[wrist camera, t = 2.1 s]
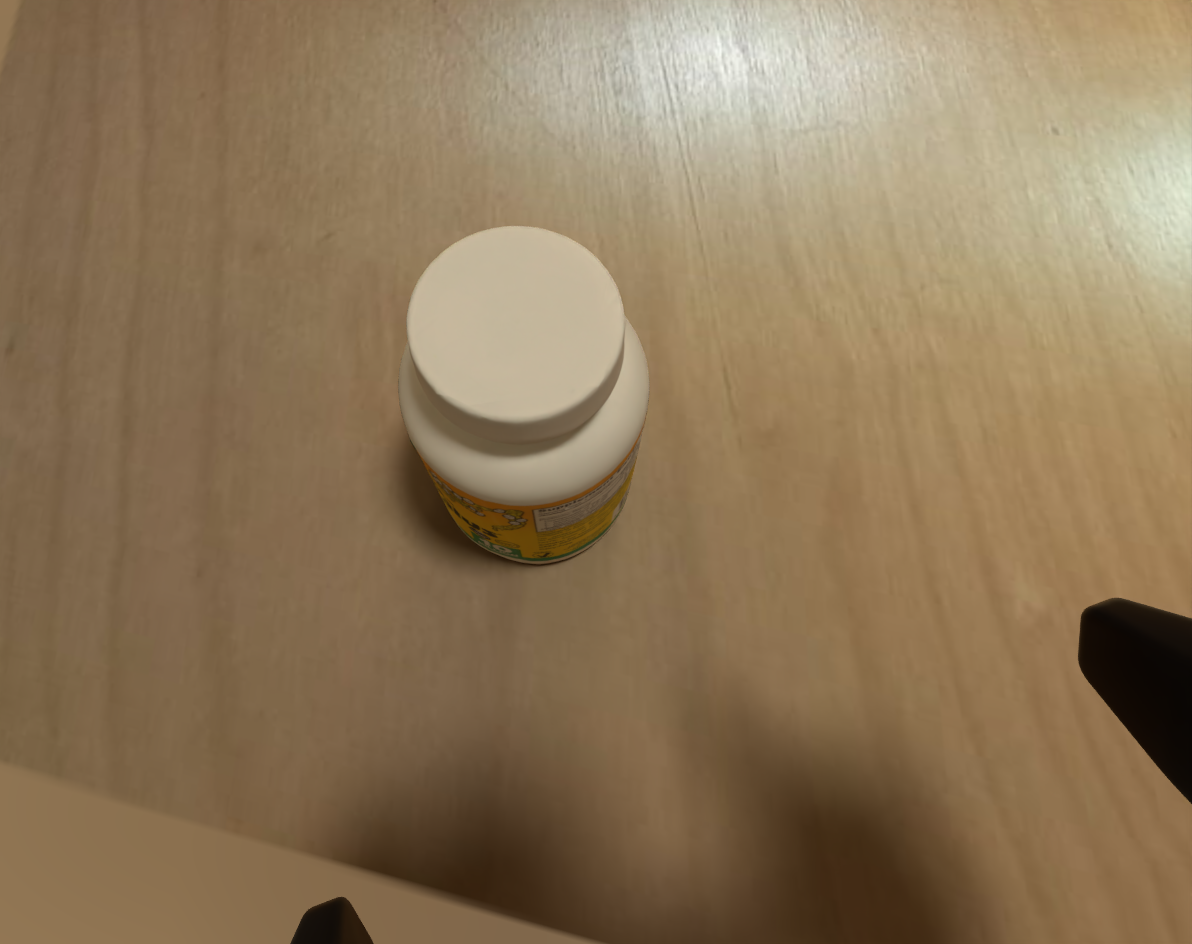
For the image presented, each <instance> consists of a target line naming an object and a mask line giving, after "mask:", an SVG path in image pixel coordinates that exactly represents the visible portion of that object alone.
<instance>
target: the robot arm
mask: <svg viewBox="0 0 1192 944" xmlns="http://www.w3.org/2000/svg"><path fill="white" fill-rule="evenodd" d="M1078 661H1079V665H1080V668H1081V671H1082V673H1083V674H1084V676H1085V678H1086V679H1087V680H1088V682H1089V683H1090V684H1091V685H1092V687H1093V688H1094V689H1095V690H1096V692H1097V693H1098V694H1099V695H1100V696H1101V698H1102V699H1103V700H1104V701H1105V703H1106V704H1107V705H1108V706H1109V707H1110V709H1111V710H1112V711H1113V712H1114V714H1115V715H1116V716H1117V717H1118V719H1119V720H1120V721H1121V722H1122V723H1123V725H1124V726H1125V727H1126V728H1127V730H1128V731H1129V732H1130V733H1131V734H1132V736H1133V737H1134V738H1135V739H1136V741H1137V742H1138V743H1139V744H1140V745H1141V747H1142V748H1143V749H1144V750H1145V752H1146V753H1147V754H1148V755H1149V756H1150V758H1151V759H1152V760H1153V761H1154V763H1155V764H1156V765H1157V766H1158V767H1159V769H1160V770H1161V771H1162V772H1163V773H1164V774H1165V776H1166V777H1167V778H1168V779H1169V780H1170V781H1171V782H1172V784H1173V785H1174V786H1175V787H1176V788H1177V789H1178V790H1179V791H1180V792H1181V793H1182V794H1183V795H1184V796H1185V797H1186V798H1187V800H1188V801H1189V802H1190V803H1191V804H1192V618H1188V617H1185V616H1181V615H1178V614H1174V613H1171V612H1168V611H1164V610H1161V609H1157V608H1154V607H1150V606H1147V605H1143V604H1140V603H1137V602H1133V601H1130V600H1126V599H1122V598H1111V599H1108V600H1105V601H1102V602H1100V603H1097V604H1095V605H1092V606H1090V607H1088V608H1086V609H1085V610H1084V611H1083V613H1082V615H1081V622H1080V636H1079V650H1078ZM291 944H373V942H372V940H371V937H370V936H369V934H368V932H367V931H366V929H365V927H364V925H363V924H362V922H361V920H360V919H359V917H358V915H357V913H356V912H355V910H354V908H353V907H352V905H351V904H350V902H349V901H348V900H347V899H346V898H344V897H338V898H335V899H332V900H330V901H327V902H325V903H322V904H319V905H317V906H314V907H312V908H310V909H309V910H308V911H307V912H306V913H305V914H304V915H303V917H302V919H301V921H300V924H299V926H298V928H297V930H296V932H295V935H294V937H293V939H292V941H291Z"/></svg>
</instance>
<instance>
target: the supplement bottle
mask: <svg viewBox="0 0 1192 944" xmlns="http://www.w3.org/2000/svg"><path fill="white" fill-rule="evenodd" d="M406 327H407V339H408V342H407V344H406V347H405V350H404V353H403V356H402V359H401V364H400V370H399V380H398V393H399V403H400V409H401V413H402V417H403V420H404V423H405V426H406V429H407V432H408V435H409V438H410V441H411V443H412V444H413V446H414V448H415V449H416V451H417V453H418V454H419V456H420V458H421V460H422V462H423V463H424V465H425V467H426V469H427V471H428V473H429V475H430V477H431V479H432V481H433V483H434V485H435V486H436V488H437V490H438V492H439V495H440V496H441V498H442V499H443V501H444V503H445V505H446V507H447V509H448V511H449V513H450V515H451V516H452V518H453V519H454V521H455V522H456V524H457V525H458V526H459V528H460V529H461V530H462V531H463V532H464V533H465V534H466V535H467V536H468V537H469V538H470V539H471V540H472V541H473V542H475V543H476V544H478V545H479V546H481V547H482V548H484V549H486V550H488V551H490V552H492V553H494V554H497V555H499V556H502V557H505V558H507V559H510V560H514V561H518V562H523V563H532V564H544V563H551V562H556V561H560V560H564V559H567V558H570V557H572V556H575V555H577V554H579V553H580V552H582V551H584V550H586V549H587V548H589V547H590V546H592V545H593V544H594V543H596V542H597V541H598V540H599V539H600V538H601V537H602V536H603V535H604V534H605V533H606V532H607V531H608V530H609V529H610V528H611V526H612V525H613V524H614V522H615V521H616V519H617V518H618V516H619V515H620V513H621V511H622V509H623V506H624V504H625V501H626V498H627V495H628V492H629V488H630V484H631V480H632V476H633V472H634V468H635V463H636V459H637V454H638V449H639V445H640V440H641V436H642V432H643V428H644V424H645V419H646V414H647V408H648V401H649V373H648V366H647V361H646V357H645V353H644V351H643V348H642V345H641V343H640V340H639V338H638V336H637V334H636V332H635V330H634V328H633V327H632V325H631V324H630V322H629V321H628V319H627V318H626V317H625V315H624V308H623V304H622V300H621V296H620V293H619V290H618V288H617V286H616V284H615V281H614V280H613V278H612V277H611V275H610V273H609V272H608V271H607V269H606V268H605V267H604V265H603V264H602V263H601V262H600V261H599V260H598V258H597V257H596V256H595V255H594V254H592V253H591V252H590V251H589V250H588V249H586V248H585V247H583V246H582V245H581V244H579V243H577V242H575V241H574V240H572V239H570V238H568V237H566V236H564V235H561V234H559V233H556V232H553V231H549V230H545V229H542V228H536V227H528V226H505V227H499V228H492V229H488V230H483V231H480V232H477V233H475V234H472V235H470V236H467V237H465V238H463V239H462V240H460V241H458V242H456V243H454V244H453V245H451V246H450V247H448V248H447V249H446V250H444V251H443V252H442V253H441V254H439V255H438V256H437V257H436V259H435V260H434V261H433V262H432V263H431V264H430V265H429V266H428V267H427V269H426V270H425V271H424V272H423V274H422V275H421V277H420V278H419V280H418V282H417V284H416V286H415V288H414V291H413V293H412V295H411V298H410V302H409V307H408V312H407V320H406Z"/></svg>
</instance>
